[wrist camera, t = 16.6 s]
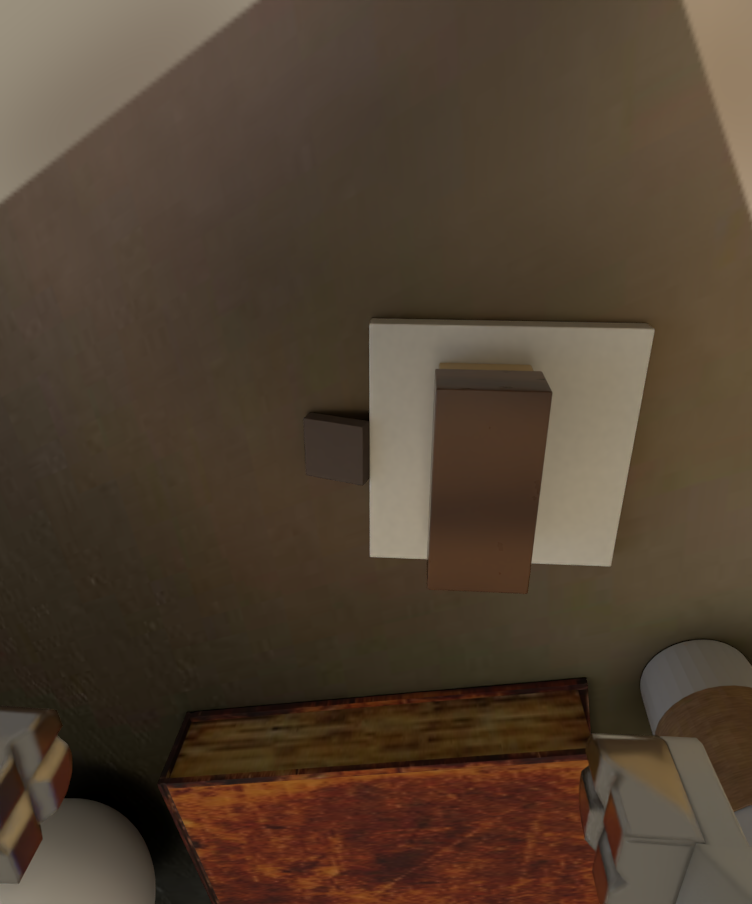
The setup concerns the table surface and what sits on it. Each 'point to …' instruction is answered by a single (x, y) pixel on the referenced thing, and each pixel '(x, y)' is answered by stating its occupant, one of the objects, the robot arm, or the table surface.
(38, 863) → the decorative ball
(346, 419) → the dark brown square block
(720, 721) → the coffee cup
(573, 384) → the tile
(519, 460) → the brown rectangular block
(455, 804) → the book
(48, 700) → the table surface
